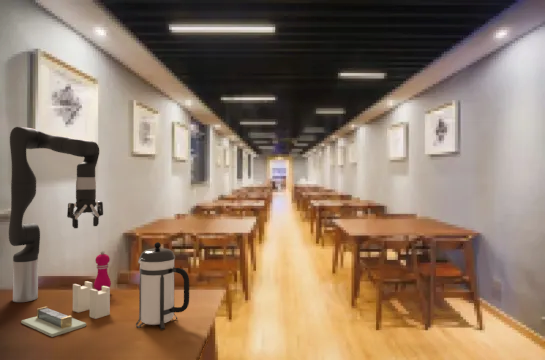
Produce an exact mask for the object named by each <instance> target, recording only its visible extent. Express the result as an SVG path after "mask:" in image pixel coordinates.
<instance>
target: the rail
mask: <svg viewBox="0 0 545 360" xmlns="http://www.w3.org/2000/svg"><path fill="white" fill-rule="evenodd" d="M36 316H37V318H39V319H42V320H44V321H47V322H49V323H51V324H54V325H56V326H59V327H61V328H62V329H63V328H66V327H69V326H72V318H73V316H72V315H67V314H64V313H61V312H60V311H57V310H54V309H50V308H48V306H43V307H40V308H39V307H38V308H36Z"/></svg>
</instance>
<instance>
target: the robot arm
mask: <svg viewBox="0 0 545 360" xmlns="http://www.w3.org/2000/svg"><path fill="white" fill-rule="evenodd" d="M9 133H10V134H9V147H10V158H11V160H10V161H11V181H10V183H11V184H10V193H11V194H10V195H11V196H10V201H11V203H10V205H11V206H10V216H9V217H10V218H9V224H8V225H9V226H8V241H9V243H10V245H11V246H12V247H13V246H14V247H19V246H25V247H24V248H23V249H21V250H19V251H18V252H16V253H15V254H14V255H12V256H13V257H12V302H14V303H25V302H32V301H34V300H37V299H38V298H39V297H38V296H39V295H38V294H39V288H38V287H39V253H40V244H41V241H40V240H41V229H40V227H39V225H38V224H37V223H36V222H30V223H23V218H24V215H25V213H26V211H27V210H28V207H29V206H30V205H31V203H33V200H34V199H35V198H36V194H37V176H36V174H35V173H34V170H33V169H32V168H31V166H30V164H29V161H28V158H27V150H35V149H48V150H52V151H53V152H56V153H60V154H67V155H71V156H74V157H77V158H78V157H80V158H83V161H82V162H80V163H78V164H77V165H76V180H75V203H74V202H68V204H67V214H66V215H67V216H66V217H67V218H69V219H71V221H72V222H71V223H72V227H73V229H78V228H79V219H78V218H79V217H80V216H81V215H82V214H86V213H90V214H91V215H92V216H93V218H92V219H93V221H92V222H93V223H92V224H93V225H92V226H93V227H98V226H99V224H100V223H99V222H100V221H99V220H100V219H99V218H100V217H102V216H103V215H104V203H103V201H99V200H98V201H96V198H97V193H96V192H97V180H96V167H97V164H98V161H99V156H100V147H99V144H98V143H97V142H95V141H93V140H86V139H77V138H74V137H73V138H72V137H68V136H62V135H55V134H54V135H53V134H49V133H45V132H42V131H40V130H37V129H35V128H31V127H24V126H15V127H13V128H12V130H11V132H9ZM75 208H76V209H75Z"/></svg>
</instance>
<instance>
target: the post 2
mask: <svg viewBox="0 0 545 360" xmlns="http://www.w3.org/2000/svg"><path fill="white" fill-rule="evenodd" d="M110 300H111V286H110V287H107V286H102V290H101V291H98V290H96V289H95V288H92V289H90V309H89V318H92V319H95V320H96V319H99V318H103V317H105V316H109V315H111V312H110V311H111V307H110V306H111V305H110V304H111V301H110Z"/></svg>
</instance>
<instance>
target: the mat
mask: <svg viewBox="0 0 545 360" xmlns="http://www.w3.org/2000/svg"><path fill="white" fill-rule="evenodd" d="M21 324H23V325H25V326H27V327H29V328H31V329H34V330H35V331H38V332H40V333H43V334H45V335H47V336H49V337H52V338H53V337H56V336H57V337H58V336H60V335H62V334H66V333H69V332H72V331H75V330H78V329H82V328H85V327H86V326H87V322H85V321H81V320H78V319H76V318H74V317H72V326H69V327H66V328H63V329H62V328H61V327H59V326H56V325H54V324H51V323H49V322H47V321H44V320H42V319H39V318H37V315H36V316H33V317H29V318H26V319H21Z"/></svg>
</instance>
